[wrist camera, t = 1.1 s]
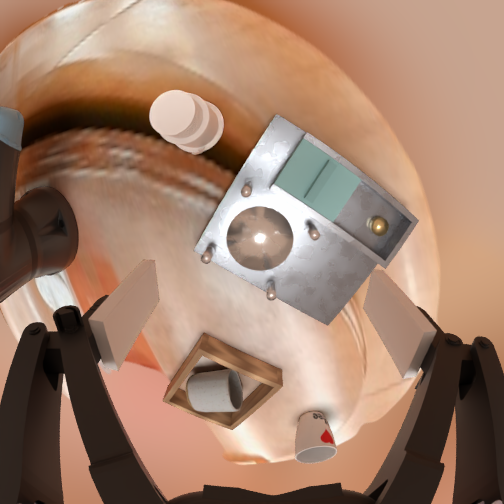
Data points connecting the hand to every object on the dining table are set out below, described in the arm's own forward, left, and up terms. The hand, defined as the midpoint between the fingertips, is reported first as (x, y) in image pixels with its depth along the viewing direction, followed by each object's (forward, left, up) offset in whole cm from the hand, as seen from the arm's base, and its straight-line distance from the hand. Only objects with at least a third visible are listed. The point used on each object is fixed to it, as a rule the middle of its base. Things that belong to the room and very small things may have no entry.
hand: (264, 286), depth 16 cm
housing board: (+6, +2, -21) cm, 22 cm away
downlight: (-13, +6, -21) cm, 25 cm away
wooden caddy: (+10, -29, -21) cm, 37 cm away
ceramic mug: (+10, -30, -21) cm, 38 cm away
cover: (+3, +7, -17) cm, 19 cm away
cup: (+32, -30, -21) cm, 49 cm away
